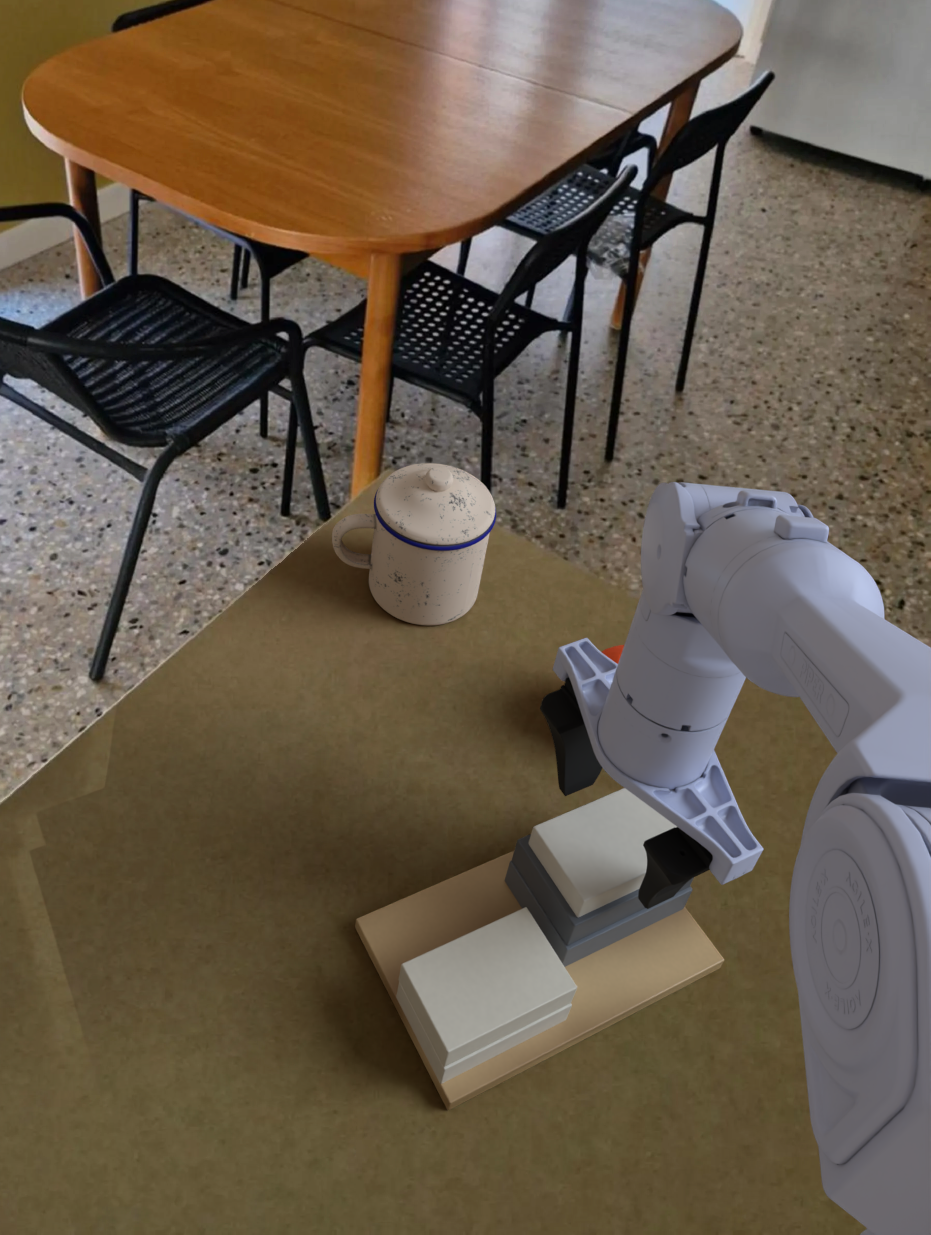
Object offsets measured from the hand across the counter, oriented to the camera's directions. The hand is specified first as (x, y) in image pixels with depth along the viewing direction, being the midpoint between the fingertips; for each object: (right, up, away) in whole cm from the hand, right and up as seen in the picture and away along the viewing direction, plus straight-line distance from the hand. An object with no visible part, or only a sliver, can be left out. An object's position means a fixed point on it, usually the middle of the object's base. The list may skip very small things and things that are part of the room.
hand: (614, 839), depth 63 cm
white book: (0, -1, +1) cm, 2 cm away
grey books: (0, -5, +4) cm, 6 cm away
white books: (-8, -9, -2) cm, 12 cm away
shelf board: (-4, -7, +2) cm, 8 cm away
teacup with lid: (-11, +11, +24) cm, 29 cm away
